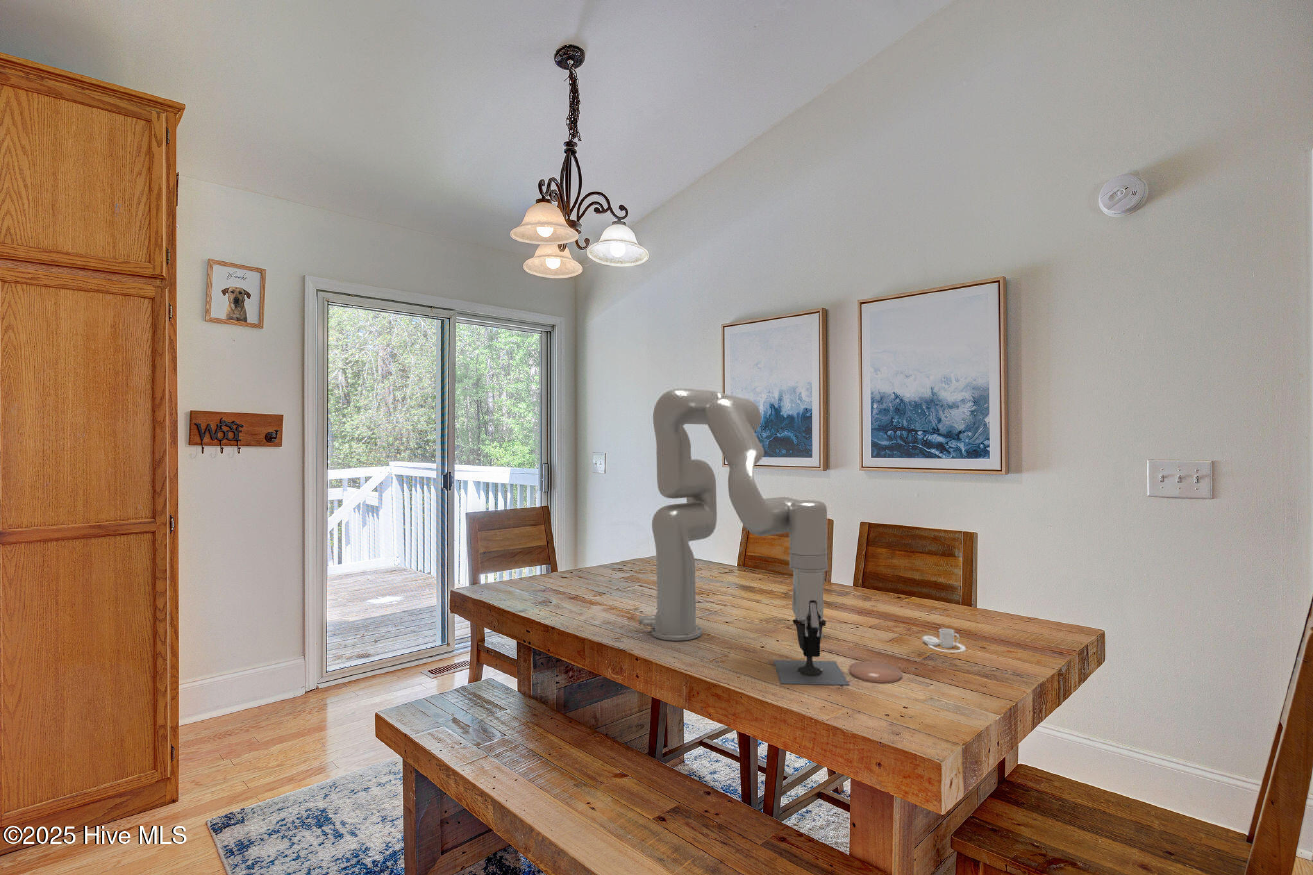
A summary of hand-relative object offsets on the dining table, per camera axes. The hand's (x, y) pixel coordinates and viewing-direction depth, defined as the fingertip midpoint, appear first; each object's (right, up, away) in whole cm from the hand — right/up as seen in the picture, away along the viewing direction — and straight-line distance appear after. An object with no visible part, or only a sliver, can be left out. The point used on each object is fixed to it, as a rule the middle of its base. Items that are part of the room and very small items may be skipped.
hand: (809, 650), depth 129 cm
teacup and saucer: (+36, -5, +19) cm, 41 cm away
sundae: (0, -4, 0) cm, 4 cm away
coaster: (+13, -4, -1) cm, 14 cm away
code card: (0, -4, 0) cm, 4 cm away
